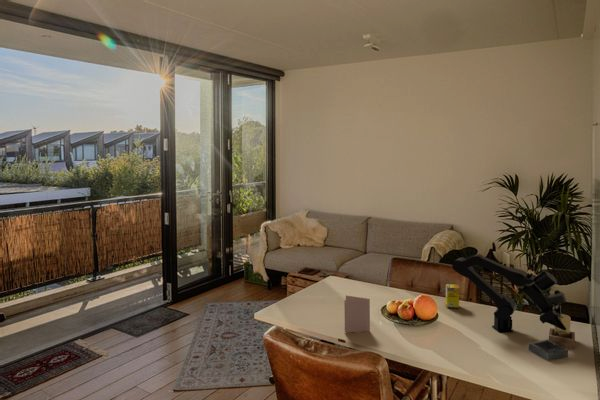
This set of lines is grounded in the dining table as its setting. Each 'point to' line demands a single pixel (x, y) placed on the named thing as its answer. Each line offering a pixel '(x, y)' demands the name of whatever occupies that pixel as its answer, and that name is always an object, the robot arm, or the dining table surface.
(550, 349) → the tray
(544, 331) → the dining table surface
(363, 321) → the greeting card
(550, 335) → the walnut socket
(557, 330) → the tan cylinder
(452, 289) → the supplement box
